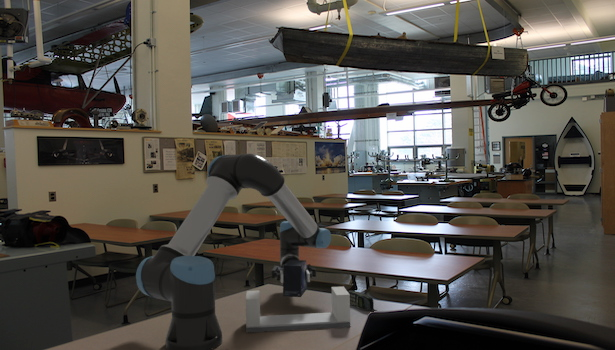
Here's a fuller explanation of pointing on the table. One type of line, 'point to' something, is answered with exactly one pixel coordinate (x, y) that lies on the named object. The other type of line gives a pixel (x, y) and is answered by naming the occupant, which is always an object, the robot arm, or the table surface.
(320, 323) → the panel
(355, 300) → the mobile phone
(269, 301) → the table surface
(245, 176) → the robot arm
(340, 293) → the block
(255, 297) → the block
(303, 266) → the small box
